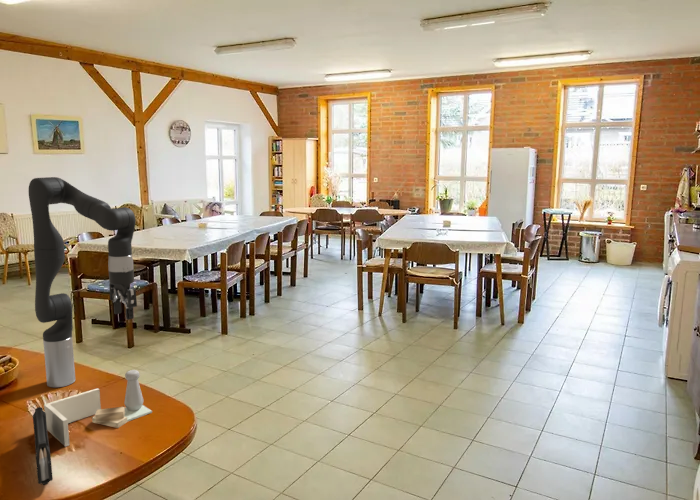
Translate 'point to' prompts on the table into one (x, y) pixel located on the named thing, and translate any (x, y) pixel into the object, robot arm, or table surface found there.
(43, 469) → the magazine
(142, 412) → the tile
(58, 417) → the bracket
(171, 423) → the table surface
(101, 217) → the robot arm
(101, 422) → the block
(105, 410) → the offcut short
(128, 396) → the salt shaker
